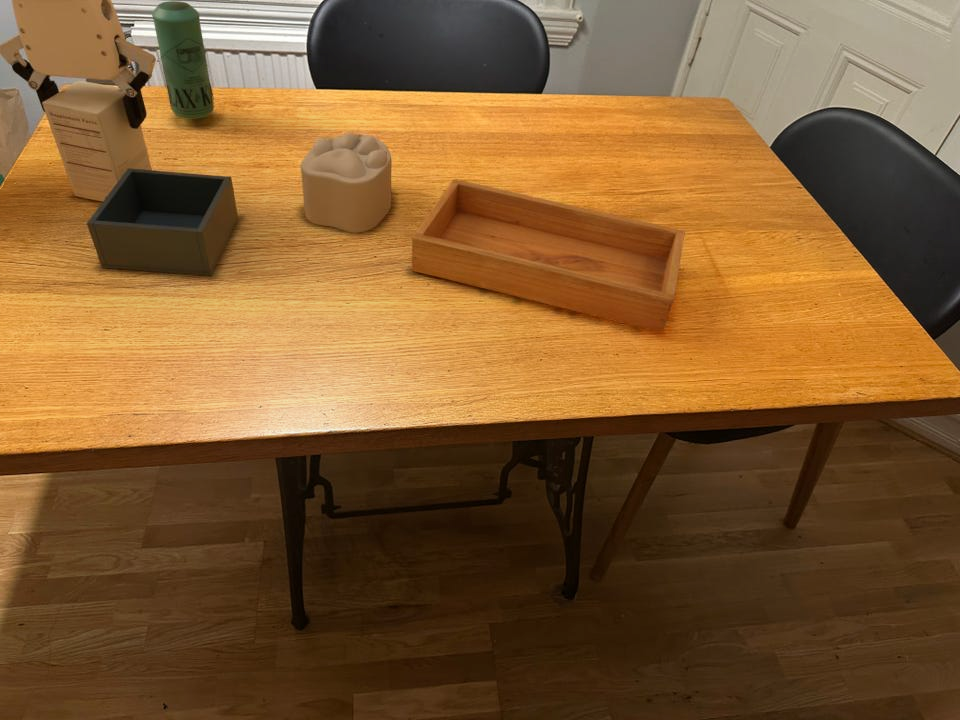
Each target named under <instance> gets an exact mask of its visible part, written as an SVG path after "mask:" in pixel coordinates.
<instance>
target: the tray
mask: <svg viewBox="0 0 960 720" xmlns="http://www.w3.org/2000/svg"><path fill="white" fill-rule="evenodd" d="M685 235H686V231H685V230H682V229H679V228H673V227H669V226H665V225H660V224H655V223H652V222H647V221H642V220H638V219H634V218H629V217H625V216H620V215H616V214H611V213H607V212H603V211H598V210H594V209H589V208H584V207H580V206H577V205H571V204H567V203H562V202H558V201H553V200H549V199H545V198H541V197H535V196H531V195H528V194H523V193H519V192H514V191H509V190H505V189H502V188H498V187H497V188H496V187H492V186H488V185H483V184H480V183H475V182H470V181H465V180H463V179H456V178H453V179H452V180H451V182H450V183H449V184H448V186H447V187H446V188H445V190H444V192H443V193H442V194H441V195H440V197H439V198H438V200H436V203H435V204H434V206H433V207H432V208H431V210H430V211H429V212H428V214H427V215H426V217H425V218H424V220H423V221H422V222H421V224H420V226H419V227H418V228H417V229H416V231H415V232H414V233H413V235H412V239H411V240H412V241H411V245H412V246H411V269H412V270H411V271H413V272H415V273H420V274H425V275H428V276H433V277H437V278H440V279H445V280H449V281H452V282H457V283H461V284H465V285H469V286H473V287H477V288H482V289H486V290H490V291H494V292H498V293H502V294H506V295H510V296H514V297H517V298H521V299H524V300H525V299H526V300H529V301H535V302H538V303H541V304H546V305H550V306H553V307H559V308H562V309H566V310H570V311H573V312H574V311H575V312H578V313H583V314H587V315H590V316H594V317H598V318H602V319H606V320H610V321H613V322H614V321H615V322H619V323H623V324H627V325H631V326H635V327H638V328H643V329H646V330H650V331H654V332H658V333H663V332H664V329H665V327H666V324H667V321H668V319H669V315H670V312H671V309H672V306H673V303H674V300H675V294H676V288H677V284H678V283H677V282H678V277H679V271H680V265H681V259H682V254H683V253H682V252H683V247H684V240H685Z"/></svg>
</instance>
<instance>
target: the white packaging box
mask: <svg viewBox="0 0 960 720" xmlns="http://www.w3.org/2000/svg"><path fill="white" fill-rule="evenodd" d="M124 95H125V93H124V92H123V91H122V90H121V89H120V88H119V87H118V86H112V85H107V84H101V83H95V82H91V81H85V80H77V81H75V82H73V83H72V84H71V85H69V86H67V87H66V88H64V89H62V90H61V91H59V93H57V94H56V95H54V96H52V97H51V98H49V99H47V100H46V101H44V102H42V104H43V107H44V110H45V112H44V113H45V115H46V118H47V122H48V125H49V127H50V130H51V134H52V135H53V139H54V141H55V144H56V148H57V150H58V154H59V156H60V159H61V161H62V164H63V167H64V170H65V171H66V172H65V173H66V175H67V178H68V181H69V185H70V186H71V190H72V193H73V195H74V196H75V197H78V198H83V199H88V200H92V201H97V202H101V203H102V202H103V201H104V200H105V198H106V197H107V196H108V194H109V193H110V192H111V190H112V189H113V188H114V186H115V185H116V184H117V182H118V181H119V180H120V179H121V177H122V176H123V175H124V173H125V172H126V171H127V169H128V168H130V169H142V170H153V168H152V164H151V160H150V156H149V152H148V148H147V144H146V141H145V137H144V133H143V129H142V126H141V125H142V124H141V125H140V126H139V127H138V129H132V127H130V124H129V121H128V117H127V114H126V110H125V106H124V103H123V97H124Z"/></svg>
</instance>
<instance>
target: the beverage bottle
mask: <svg viewBox="0 0 960 720" xmlns="http://www.w3.org/2000/svg"><path fill="white" fill-rule="evenodd" d="M151 18H152V20H153V24H154V29H155V34H156V39H157V45H158V49H159V56H160V58H159V61H160V62H161V67H162V73H163V74H162V75H163V79H164V82H165V83H164V85H165V87H166V89H165V91H166V92H167V97H168V99H167V100H168V101H169V106H170V107H169V108H170V109H171V111H172V113H173V114H174V115H175V116H176V117H179V118H182V119H191V120H194V119H202V118H205V117H209V116H210V115H212V114H213V112H214V109H215V106H216V105H215V103H214V101H215V98H214V93H213V92H214V91H213V87H212V83H211V81H212V80H211V79H210V76H211V75H210V72H209V71H210V70H209V64H208V62H209V61H208V60H207V55H206V52H207V49H206V46H205V45H204V39H203V32H202V25H201V20H200V13H199V11H198V10H197V9H196V8H194V7H193V6H192V5H191V4H189V3H188V2H184V1H180V0H168V1H163V2H161V3H158V5H157V6H156V7H155V8H154V9H153V11H152V12H151Z"/></svg>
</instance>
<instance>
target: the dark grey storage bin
mask: <svg viewBox="0 0 960 720" xmlns="http://www.w3.org/2000/svg"><path fill="white" fill-rule="evenodd" d="M238 220H239V215H238V209H237V202H236V197H235V191H234V185H233V180H232V176H227V175H214V174H204V173H203V174H201V173H190V172H178V171H177V172H176V171H165V170H153V169H152V170H142V169H130V168H128V169H127V171H126V172H125V173H124V175H123V176H122V177H121V179H120V180H119V181H118V182H117V184H116V185H115V186H114V188H113V189H112V190H111V192H110V193H109V194H108V196H107V197H106V198H105V200H104V201H103V202H102V201H101V203H100V205H99V206H98V207H97V209H96V210H95V212H93V214H92V215H91V216H90V218H89V219H88V221H87V222H86V225H87V229H88V231H89V234H90V238H91V240H92V244H93V247H94V249H95V252H96V255H97V258H98V261H99V264H100V267H101V268H102V269H114V270H115V269H116V270H127V271H128V270H129V271H143V272H155V273H166V274H167V273H170V274H180V275H181V274H184V275H196V276H210V277H211V276H212V275H213V273H214V271H215V269H216V267H217V265H218V263H219V260H220V259H221V256H222V254H223V252H224V250H225V247H226V246H227V243H228V241H229V239H230V237H231V235H232V233H233V230H234V229H235V227H236V225H237V222H238Z"/></svg>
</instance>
